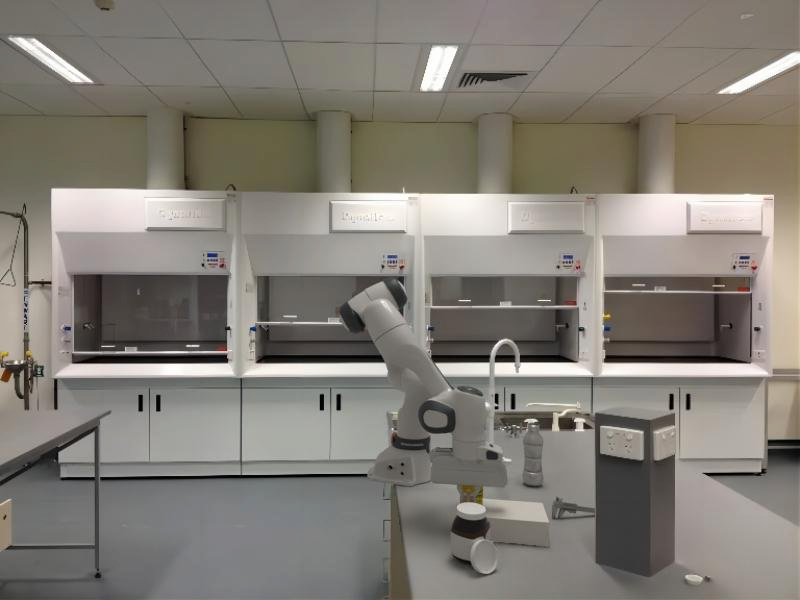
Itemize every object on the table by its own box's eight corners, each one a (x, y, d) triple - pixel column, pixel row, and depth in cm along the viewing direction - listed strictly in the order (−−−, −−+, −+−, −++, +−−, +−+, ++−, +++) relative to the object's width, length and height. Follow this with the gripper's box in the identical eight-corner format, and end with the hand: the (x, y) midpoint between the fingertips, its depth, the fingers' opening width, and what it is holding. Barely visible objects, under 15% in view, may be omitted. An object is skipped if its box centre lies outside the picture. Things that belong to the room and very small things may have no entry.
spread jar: (465, 544, 123) (466, 497, 123) (508, 558, 116) (509, 508, 116) (441, 565, 113) (442, 514, 113) (487, 582, 106) (487, 527, 106)
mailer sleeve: (483, 541, 124) (483, 517, 124) (482, 520, 136) (482, 498, 136) (548, 546, 122) (549, 522, 122) (542, 525, 134) (542, 502, 134)
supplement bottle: (477, 514, 140) (478, 469, 140) (456, 509, 143) (456, 464, 143) (486, 506, 146) (487, 462, 146) (465, 501, 149) (466, 458, 149)
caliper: (553, 520, 137) (553, 497, 137) (551, 518, 139) (551, 496, 139) (619, 515, 141) (619, 493, 141) (617, 514, 142) (617, 492, 142)
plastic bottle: (544, 489, 159) (545, 427, 160) (522, 487, 161) (523, 426, 161) (542, 482, 166) (543, 422, 166) (521, 480, 167) (522, 421, 167)
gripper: (428, 450, 129) (428, 503, 129) (508, 454, 126) (508, 508, 126) (430, 443, 135) (430, 494, 135) (506, 447, 133) (506, 499, 133)
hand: (468, 501), depth 131 cm, fingers closed
